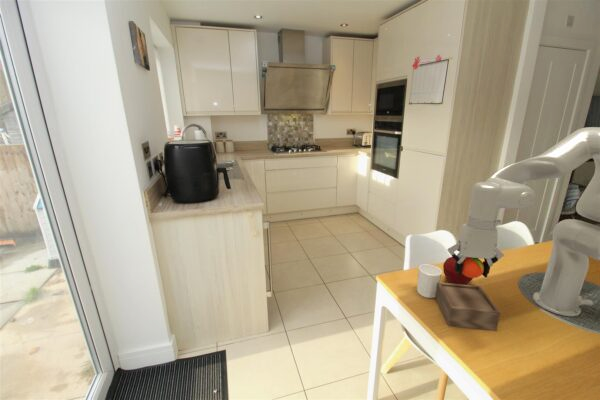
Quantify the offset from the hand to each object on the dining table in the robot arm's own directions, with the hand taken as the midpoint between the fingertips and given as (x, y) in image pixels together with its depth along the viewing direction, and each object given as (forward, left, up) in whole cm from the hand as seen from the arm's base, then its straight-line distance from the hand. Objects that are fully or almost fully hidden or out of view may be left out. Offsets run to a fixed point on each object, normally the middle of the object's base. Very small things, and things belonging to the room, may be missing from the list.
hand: (470, 273), depth 90 cm
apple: (-4, -18, -16) cm, 24 cm away
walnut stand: (0, 0, -15) cm, 15 cm away
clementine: (0, 0, -2) cm, 2 cm away
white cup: (+9, -10, -16) cm, 21 cm away
